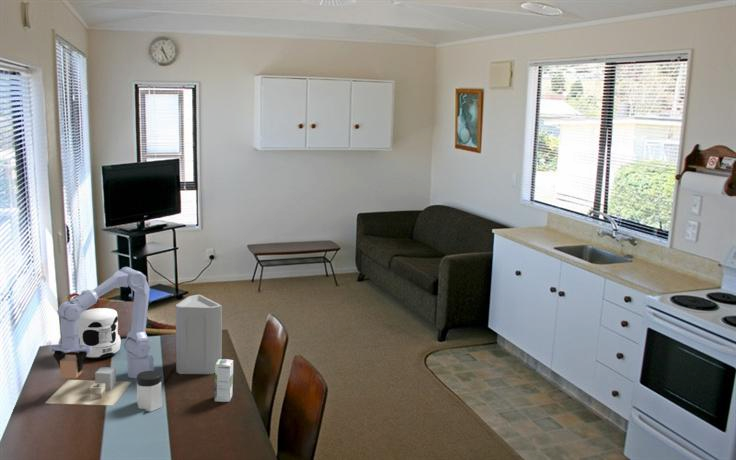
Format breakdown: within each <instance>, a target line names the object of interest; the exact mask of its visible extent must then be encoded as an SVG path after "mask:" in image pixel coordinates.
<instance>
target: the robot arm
mask: <svg viewBox="0 0 736 460" xmlns="http://www.w3.org/2000/svg"><path fill="white" fill-rule="evenodd" d="M119 287H120V288H121V287H122V288H130V289H132V291H133V292H134V295H133V303H132V315H131V325H130V331H129V332H128V333H127V334H126V339H125V340H124V343H123V348H124V350H125V351H126V353H127V354H126V357H127V358H126V359H127V377H128V378H131V379H137V375H138V374H139V373H141V372H144V371H155V370H154V369H155V368H154V356H153V355H150V354H149V352H150V349H151V346H150V344H149V337H148V335H147V333H146V328H147V318H148V311H149V310H148V308H149V300H150V288H151V287H150V285H149V283H148V281H147V276H146V275H145V274H144V273H143V272H141V271H139V270H135V269H133V268H131V267H129V266H124V267H122V268H121V269H119V270H116V271H115V272H114V274H113V275H112V276H110V277H109V278H107V279H106V280H105V281H103V282H102V283H101V284H99V285H98V286H96V287H95V288H93V289H86V290H85V289H84V290H82V291H81V293H80V294H79V295H77V296H75V297H74V298H71V299H70V300H69V301H65V302H62V303H60V306H59V307H58V309H57V310H56V312H57V314H58V316H59V317H60V335H61V336H60V337H61V344H51V345H50V346H49V347H48V351H49V353H53V352H54V353H53V354H52V355H53V358H54V360H56V362H57V364H58V366H59V368H60V360H61V359H62V358H63V357H65V356H66V353H76V354H75V355H76V358H77V362H78V372H81V371H83V368H84V363H85V360H86V355H87V353H91V352H92V346H84V345H79V328H78V318H79V317H80V315H81V313H82V312H83V311H85V310H89V308H91V307H92V306H94V305H95V304H96V303H97V302H98V299H99V298H100V297H102V296H103V295H105V294H107V293H109V292H110V291H112V290H114V289H116V288H119ZM78 352H79V353H78Z"/></svg>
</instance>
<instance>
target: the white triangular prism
mask: <svg viewBox="0 0 736 460" xmlns="http://www.w3.org/2000/svg"><path fill="white" fill-rule="evenodd" d="M222 310H223V307H222V304H219V302H215V300H212V299H210V298H207V297H205V296H204V295H202V294H194V295H189V296H187V297H186V298H184V299H182V300H181V301H179V302H178V303H177V304H176V305H175V350H176V351H175V355H176V356H175V357H176V358H175V359H176V360H175V361H176V362H175V364H176V365H175V366H176V369H175V370H176V373H178V374H180V375H215V374H214V373H215V365H216V363H217V361H218V360H219V359H223V358H222V355H223V354H222V350H223V349H222V346H223V345H222V344H223V343H222V341H223V340H222V336H223V335H222V334H223V332H222V331H223V327H222V326H223V325H222V324H223V322H222V320H223V319H222V318H223V317H222V316H223V311H222Z"/></svg>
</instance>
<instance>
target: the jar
mask: <svg viewBox="0 0 736 460" xmlns="http://www.w3.org/2000/svg"><path fill="white" fill-rule="evenodd" d="M162 397H163V396H162V374H161V372H159V371H157V370H154V371H144V372H141V373H139V374H138V375H137V378H136V404H137V408H138V409H141V410H142V409H143V410H144V412H153V411H156V410H158V409H160V408H162V405H163V403H162Z"/></svg>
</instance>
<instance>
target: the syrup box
mask: <svg viewBox="0 0 736 460" xmlns="http://www.w3.org/2000/svg"><path fill="white" fill-rule="evenodd" d="M233 382H234V360H233V359H227V358H224V359H223V358H222V359H219V360H218V361H217V363H216V365H215V374H214V394H213V395H214V397H213V399H214V402H216V403H217V402H220V403H229V402H230V401H231V399H232V398H233V393H234V391H233V389H234V388H233V386H234V383H233Z"/></svg>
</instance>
